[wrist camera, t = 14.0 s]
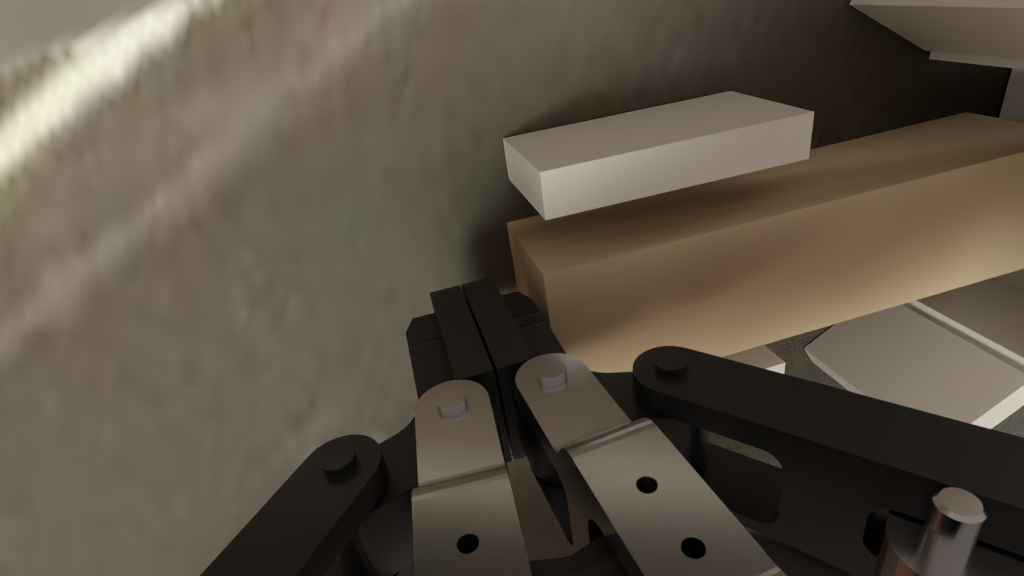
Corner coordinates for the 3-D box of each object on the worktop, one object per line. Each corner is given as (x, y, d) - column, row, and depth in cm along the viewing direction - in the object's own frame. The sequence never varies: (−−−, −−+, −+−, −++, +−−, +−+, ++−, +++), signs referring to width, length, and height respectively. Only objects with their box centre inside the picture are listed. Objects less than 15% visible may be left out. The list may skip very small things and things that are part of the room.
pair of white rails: (719, 335, 18) (782, 392, 16) (539, 386, 17) (573, 455, 15) (730, 90, 14) (814, 111, 12) (502, 138, 14) (539, 172, 11)
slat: (932, 218, 19) (1045, 262, 16) (522, 329, 17) (561, 404, 14) (956, 110, 17) (1088, 135, 14) (503, 217, 15) (543, 274, 12)
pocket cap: (967, 315, 21) (1164, 417, 16) (801, 364, 20) (956, 490, 15) (1078, -68, 15) (1444, -98, 10) (853, -27, 14) (1138, -39, 9)
